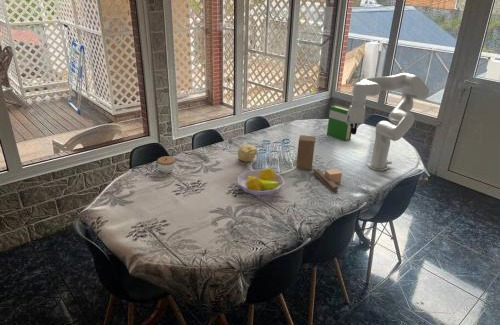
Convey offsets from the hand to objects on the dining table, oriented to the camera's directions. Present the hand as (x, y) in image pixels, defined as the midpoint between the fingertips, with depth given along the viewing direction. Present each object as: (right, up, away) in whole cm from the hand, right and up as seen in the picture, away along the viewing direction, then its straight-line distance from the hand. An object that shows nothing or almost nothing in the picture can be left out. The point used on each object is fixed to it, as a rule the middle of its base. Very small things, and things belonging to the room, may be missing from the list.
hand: (353, 133), depth 221 cm
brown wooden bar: (-17, -29, 0) cm, 34 cm away
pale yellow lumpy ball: (-65, -16, +24) cm, 71 cm away
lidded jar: (-114, -23, +5) cm, 116 cm away
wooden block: (-27, -20, +19) cm, 39 cm away
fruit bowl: (-56, -33, -12) cm, 66 cm away
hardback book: (+8, +3, +71) cm, 72 cm away
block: (-12, -28, +2) cm, 31 cm away
